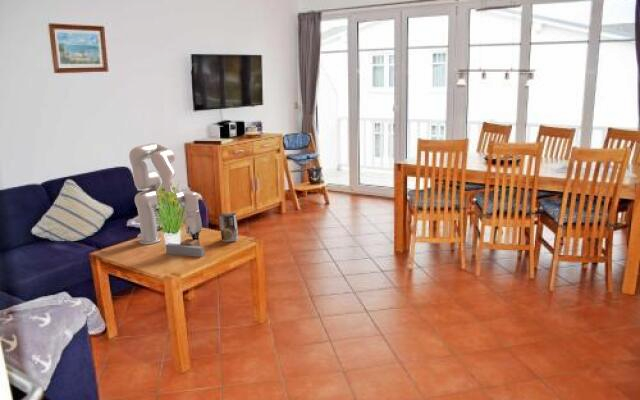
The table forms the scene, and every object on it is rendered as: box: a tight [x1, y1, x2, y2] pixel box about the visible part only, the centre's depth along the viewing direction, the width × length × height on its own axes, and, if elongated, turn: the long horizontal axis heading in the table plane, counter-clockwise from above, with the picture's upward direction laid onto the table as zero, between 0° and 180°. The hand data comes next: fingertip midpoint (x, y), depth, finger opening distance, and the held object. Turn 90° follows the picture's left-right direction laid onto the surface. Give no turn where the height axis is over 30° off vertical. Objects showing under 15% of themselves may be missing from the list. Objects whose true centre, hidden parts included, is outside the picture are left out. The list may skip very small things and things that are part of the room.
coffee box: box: [218, 212, 240, 243], centre depth 325 cm, size 9×6×16 cm
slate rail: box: [165, 242, 205, 258], centre depth 306 cm, size 24×3×5 cm, turn 67°
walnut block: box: [179, 238, 201, 246], centre depth 310 cm, size 8×7×6 cm
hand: (196, 243), depth 315 cm, fingers closed
